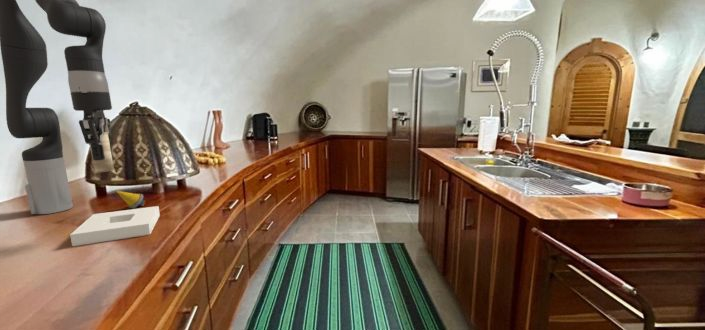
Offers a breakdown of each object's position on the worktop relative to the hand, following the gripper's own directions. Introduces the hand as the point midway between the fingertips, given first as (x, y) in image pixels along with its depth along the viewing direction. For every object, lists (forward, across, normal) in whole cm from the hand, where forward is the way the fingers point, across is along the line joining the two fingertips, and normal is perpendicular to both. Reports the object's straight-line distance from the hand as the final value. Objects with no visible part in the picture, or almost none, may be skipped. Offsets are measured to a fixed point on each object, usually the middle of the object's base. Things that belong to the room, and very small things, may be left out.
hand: (102, 158), depth 80 cm
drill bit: (+20, -20, 0) cm, 29 cm away
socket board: (+20, 0, +1) cm, 20 cm away
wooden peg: (+3, 0, 0) cm, 3 cm away
